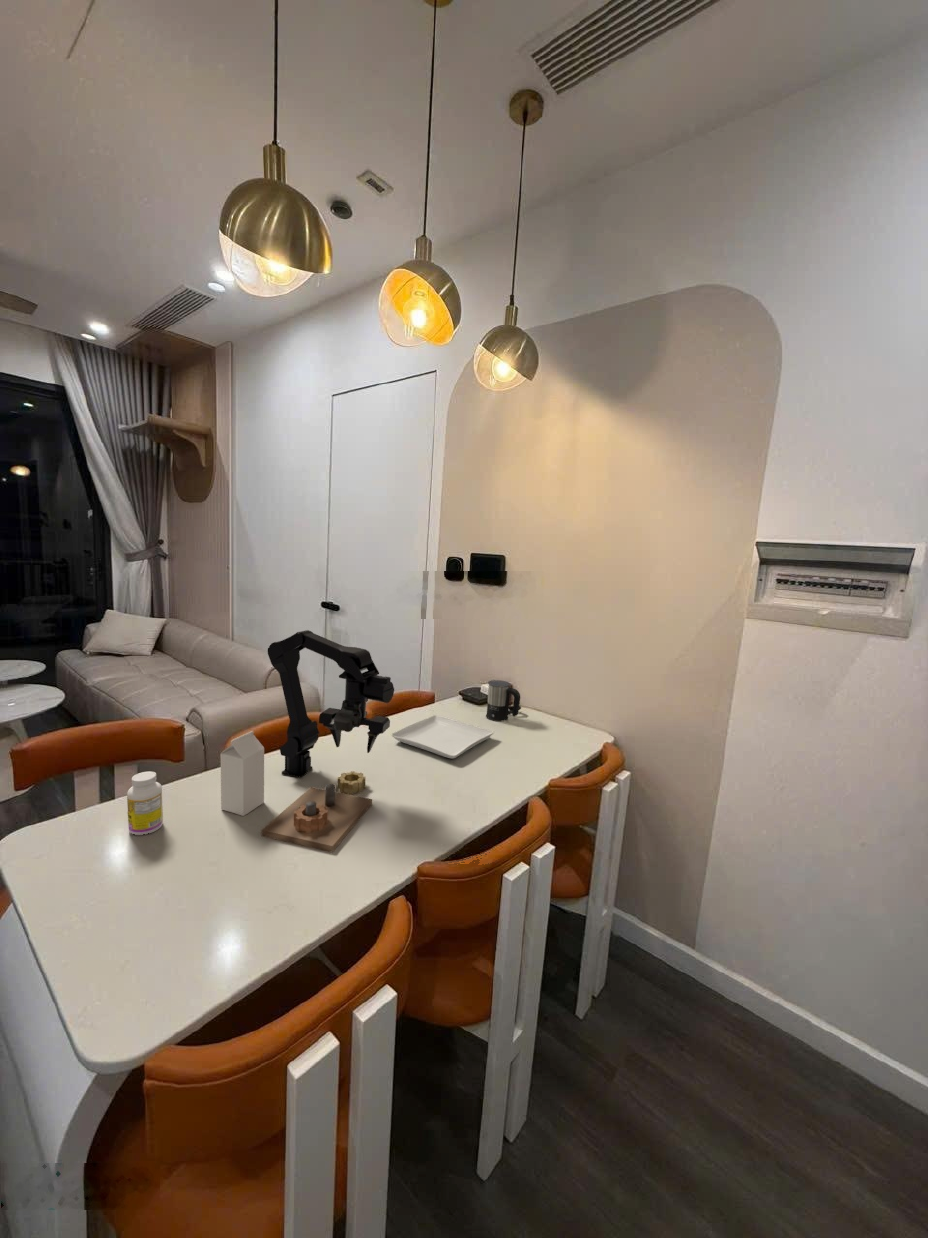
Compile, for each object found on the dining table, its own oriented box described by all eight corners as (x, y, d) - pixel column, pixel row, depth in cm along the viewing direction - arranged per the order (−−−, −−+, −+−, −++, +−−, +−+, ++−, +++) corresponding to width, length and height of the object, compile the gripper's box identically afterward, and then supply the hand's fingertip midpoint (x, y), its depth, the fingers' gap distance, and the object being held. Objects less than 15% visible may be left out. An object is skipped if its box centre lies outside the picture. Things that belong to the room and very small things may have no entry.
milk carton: (264, 803, 124) (264, 733, 121) (243, 817, 117) (243, 743, 114) (242, 796, 126) (242, 728, 123) (220, 810, 120) (219, 737, 117)
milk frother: (484, 720, 194) (486, 684, 192) (488, 707, 209) (491, 674, 207) (519, 724, 192) (522, 688, 190) (521, 711, 207) (524, 678, 205)
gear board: (261, 835, 110) (261, 809, 109) (311, 792, 131) (311, 769, 130) (332, 852, 106) (333, 825, 105) (372, 804, 127) (373, 781, 126)
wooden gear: (332, 791, 132) (333, 781, 131) (345, 779, 139) (345, 769, 138) (357, 796, 130) (358, 786, 129) (369, 783, 137) (369, 774, 137)
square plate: (495, 740, 175) (495, 730, 174) (453, 767, 152) (454, 755, 151) (434, 722, 189) (435, 712, 188) (388, 743, 166) (389, 733, 166)
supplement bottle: (132, 822, 112) (130, 771, 110) (165, 818, 115) (164, 767, 113) (125, 839, 106) (122, 784, 104) (159, 834, 109) (158, 781, 107)
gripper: (309, 699, 124) (307, 755, 127) (376, 710, 121) (372, 768, 123) (329, 687, 135) (327, 739, 138) (392, 697, 131) (388, 750, 134)
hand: (353, 749), depth 133 cm, fingers open, 9 cm apart
